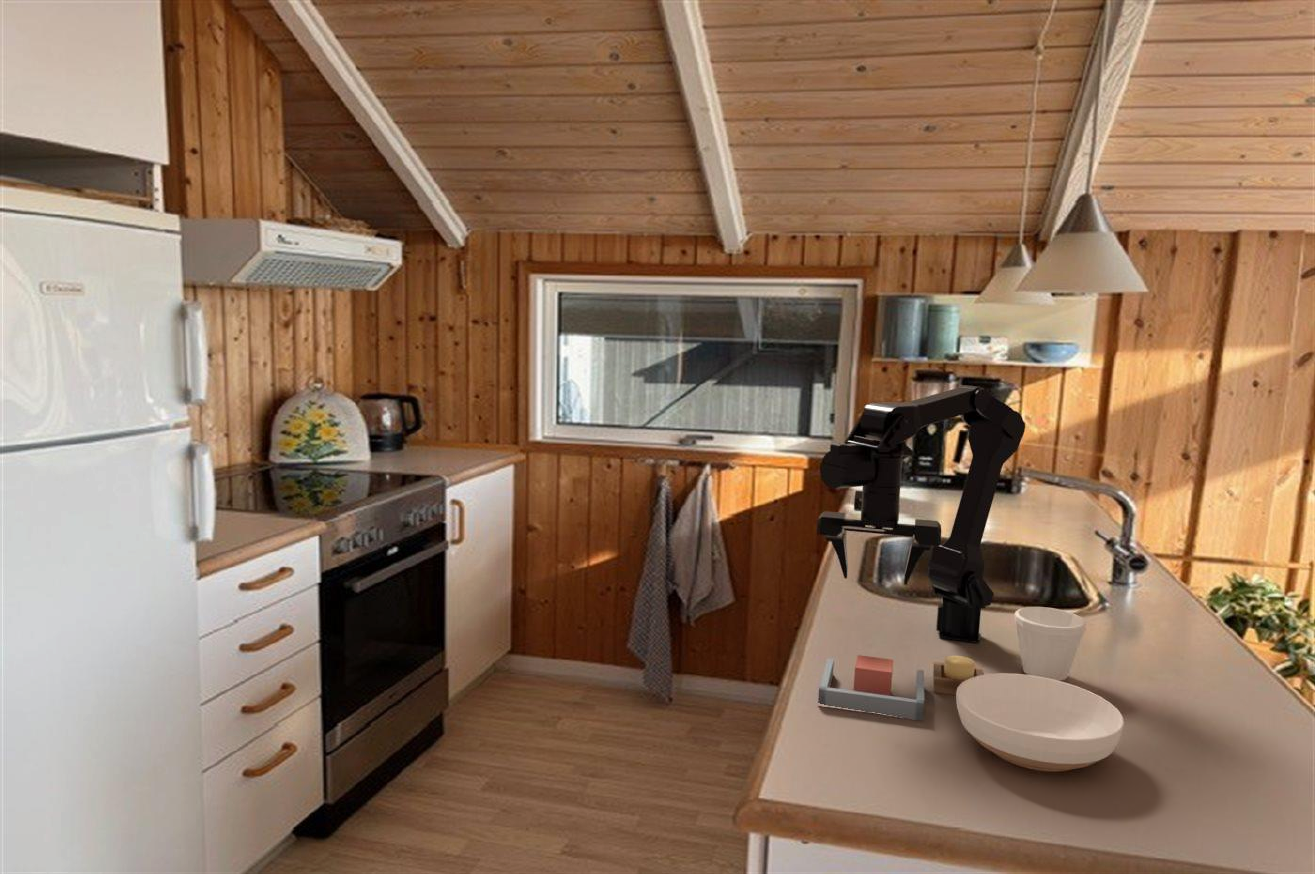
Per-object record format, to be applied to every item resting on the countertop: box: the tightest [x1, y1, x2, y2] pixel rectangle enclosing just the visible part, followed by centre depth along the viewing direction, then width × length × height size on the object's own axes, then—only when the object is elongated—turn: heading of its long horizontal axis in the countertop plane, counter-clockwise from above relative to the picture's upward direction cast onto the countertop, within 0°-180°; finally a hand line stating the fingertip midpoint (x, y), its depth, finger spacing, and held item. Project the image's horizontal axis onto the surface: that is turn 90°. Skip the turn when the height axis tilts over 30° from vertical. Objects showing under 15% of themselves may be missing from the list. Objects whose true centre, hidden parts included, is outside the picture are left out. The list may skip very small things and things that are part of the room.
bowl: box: [955, 672, 1125, 773], centre depth 116 cm, size 20×20×6 cm
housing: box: [932, 661, 985, 696], centre depth 136 cm, size 7×7×2 cm
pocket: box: [817, 657, 925, 722], centre depth 131 cm, size 14×12×2 cm
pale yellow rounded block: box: [944, 655, 976, 680], centre depth 135 cm, size 4×4×3 cm
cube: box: [853, 654, 894, 696], centre depth 131 cm, size 5×5×5 cm
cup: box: [1014, 606, 1087, 682], centre depth 140 cm, size 10×10×9 cm
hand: (875, 580), depth 146 cm, fingers open, 9 cm apart
